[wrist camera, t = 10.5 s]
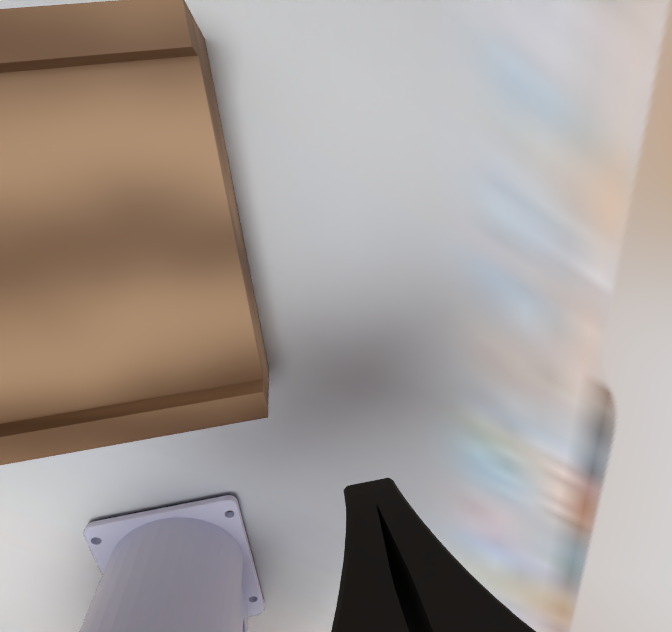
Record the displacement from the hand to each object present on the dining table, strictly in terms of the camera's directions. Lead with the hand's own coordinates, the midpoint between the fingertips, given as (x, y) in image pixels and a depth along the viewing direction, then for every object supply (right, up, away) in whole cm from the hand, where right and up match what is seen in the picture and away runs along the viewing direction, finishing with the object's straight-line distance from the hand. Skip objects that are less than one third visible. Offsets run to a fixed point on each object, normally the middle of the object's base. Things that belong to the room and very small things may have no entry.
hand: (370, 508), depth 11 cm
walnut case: (-13, +8, +5) cm, 16 cm away
